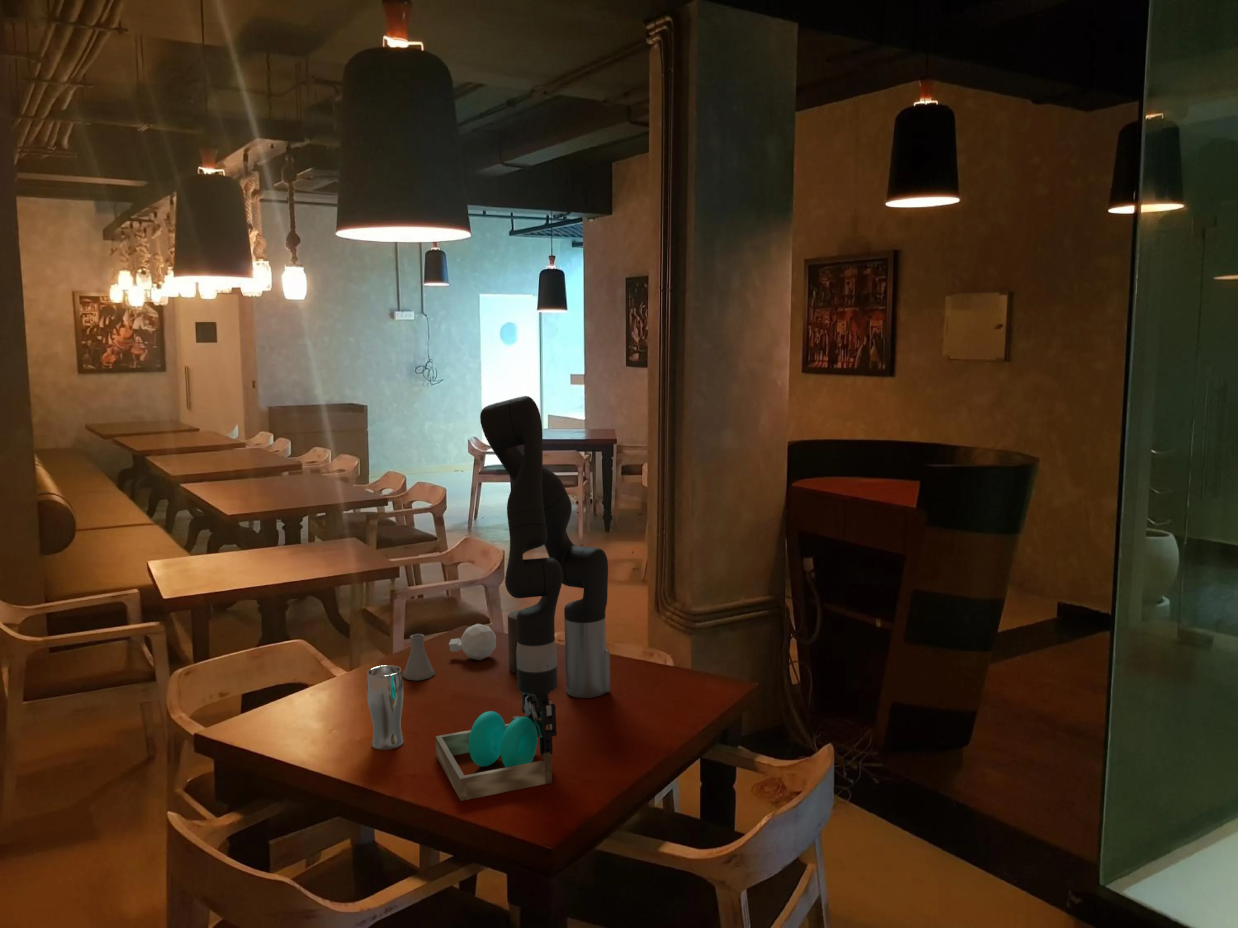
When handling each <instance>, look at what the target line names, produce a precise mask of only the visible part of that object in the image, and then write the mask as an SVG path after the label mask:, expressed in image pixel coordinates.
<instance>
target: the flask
mask: <svg viewBox="0 0 1238 928" xmlns="http://www.w3.org/2000/svg"><path fill="white" fill-rule="evenodd" d="M424 638H425V635H424V634H422V633H415V634H412V635H409V639H410V640H411V646H410V653H409V656H408V659H407V662H406V666H405V668H404V670H403V672H402V678H404V679H406V680H407V681H408V680H409V681H418V682H419V681H424V680H427V679H431V678H432V677H434V676H435V675H436V672H435V671H434V670H435V669H434V668H433V666H432V664H431V662H430V659H429V657H428V654H427V652H426V648H425V645H424Z"/></svg>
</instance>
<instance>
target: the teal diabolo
mask: <svg viewBox="0 0 1238 928" xmlns="http://www.w3.org/2000/svg"><path fill="white" fill-rule="evenodd" d="M509 723H510V724H509ZM509 723H508V724H509V725H508V727H507V728H506V727H505V724H506V723H505V721H504V719H503V718H502V716H501V715H500V714H499V713H498V712H496V711H493V710H492V711H491V710H489V711H485V712H483V713H482V714H480V715H479V716H478V717H477V719H476V720H475V721H474V722H473V725H472V727H471V729H470V730H471V732H470V737H469V753H468V754H469V756H470V758H471V760H472V761H473V763H474V764H475V765H476V766H478V767H489V766H491V765H492V764H494V763H495V762H496V761H497V760H498V759H499V758H500V757H501V762H502V764H503V765H504V768H505V767H511V766H516V765H521V764H526V763H531V762H533V760H534V757H535V756H536V752H537V747H538V739H539V737H537V729H536V726H535V724H534V723H533V721H532V720H531V719H529V718H527V717H525V716H519V717H518V718H516V719H514V720H513V721H512V720H511V722H509Z"/></svg>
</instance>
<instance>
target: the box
mask: <svg viewBox="0 0 1238 928" xmlns="http://www.w3.org/2000/svg"><path fill="white" fill-rule="evenodd" d="M511 717H512V720H511V722H512V721H513V720H514V719H516V718H518V717H520V716H519V715H514V716H511ZM511 722H509V723H505V727H506V728H507V727H508V725H509V724H510V723H511ZM470 732H471V729H469V730H464V731H463V730H462V731H459V732H458V731H457V732H452V733H447V734H441V735H436V736H435V756H436V758H437V761H438V762H439V764H440V765H441V767H442V770H443V771H444V773H445V775H446V777H447V778H448V779H447V780H449V782H450V784H451V786H452V787H453V789H454V791H455V793H456V795H457V797H458V798H459V800H460V801H461V802H463V801H468V800H472V799H478V798H482V797H483V798H484V797H487V796H493V795H498V794H502V793H508V792H511V791H512V792H513V791H518V790H521V789H527V788H532V787H537V786H541V785H547V784H552V783H553V771H552V770H553V769H552V768H553V764H552V755H551V754H550V753H549V752H548V753H543V756H542V760H538V761H532V762H531V763H526V764H521V765H516V766H511V767H505V766H504V767H502V768H501V767H500V768H496V769H491V770H485V771H480V772H476V773H471V774H470V773H469V774H465V773H464V772H463V771H462V769H461V767H460V765H459V764H458V762H457V761H456V759H455V757H454V756H458V755H464V754H470V753H469V737H470Z"/></svg>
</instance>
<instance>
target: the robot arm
mask: <svg viewBox="0 0 1238 928" xmlns="http://www.w3.org/2000/svg"><path fill="white" fill-rule="evenodd" d="M479 419H480V421H479V422H480V425H481V430H482V433H483V435H484V437H485V439H486V441H487V442H488V445H489V446H490V448H491V450H492V451H493V453H494V454H495V456H496V457H497V459H498V460H499V461H500V463H501V465H502V466H503V468H504V469H505V471H506V473H507V474H508V476H509V477H510V480H511V482H512V483H513V484H512V487H511V489H510V492H509V495H508V499H507V504H506V516H507V524H508V533H509V554H508V561H507V566H506V567H507V568H506V571H505V578H504V581H505V582H504V584H505V588H506V591H507V592H508V593H509V595H510V596H511V597H512V598H514V599H527V598H536V597H540V599H539V601H538V602H537V603H536V604H534V605H531V606H527V607H525V608H523V609H520V610H521V611H519V613H518V614H517V651H516V659H517V674H516V681H517V682H516V683H517V689H518V691H520V692H521V713H523V714H524V717H527V718H529V719H531V720H532V721H533V723H534V724H535V726H536V729H537V737H538V738H539V754H540V755H541V757H543V753H548V752H549V753H550V754H551V756H552V755H553V753H554V752H553V737H556V736H557V717H556V716H557V714H556V705H555V703H552V700H551V698H550V696H549V694H550V693H551V692H553V691H555V690H556V689H557V687H558V685H559V684H558V661H557V659H558V658H557V657H558V656H557V655H558V654H557V645H556V638H555V637H556V633H555V632H556V631H555V616H556V615H555V614H556V609H557V604H558V600H559V596H560V592H561V589H562V584H563V585H564V586H567V587H571V588H579V589H583V594H582V598H581V599H577V600H572V601H571V602H568V603H567V604H565V606H564V609H563V610H564V613H563V615H564V617H563V619H564V650H565V651H564V654H565V686H566V687H565V690H566V694H567V695H568V696H570V697H572V698H573V697H574V698H580V699H591V698H597V697H600V696H603V695H604V694H607V693H610V692H611V668H610V667H611V666H610V665H611V664H610V650H608V649H607V633H606V628H607V627H606V626H607V625H606V611H607V610H606V608H607V605H608V591H609V590H608V587H609V585H608V584H609V583H608V582H609V562H608V557H607V555H606V552H605V551H604V550H603V549H602V548H599V547H592V546H590V547H589V546H581V545H576V544H574V543H573V542H572V540H571V539H570V537H569V535H568V533H567V528H568V525H569V522H570V520H571V515H572V510H573V507H572V505H573V504H572V501H571V498H570V496H569V493H568V492H567V489H566V487H565V486H564V483H563V482H562V480H561V479H560V478H559V476H558V475H556V474H555V472H553V471H551V470H550V469H549V468H547V467H546V466H544V465H543V464H544V463H543V461H544V458H543V455H544V454H543V453H544V452H543V451H544V449H543V448H544V447H543V446H544V445H543V442H544V441H543V440H544V439H543V438H544V437H543V422H542V416H541V412H540V410H539V407H538V405H537V403H536V401H534V399H533V398H532V397H530V396H529V395H528V396H527V395H524V396H518V397H514V398H510V399H508V400H502V401H499V402H494V403H492V404H488V405H486V406H484V407H483V408H482V409H481V411H480V415H479ZM519 446H523V452H522V451H521V449H520V448H519ZM543 546H544V548H545V550H546V553H547V555H548V557H540V558H528V559H524V554H525V553H526V552H529V551H532V550H535V549H538V548H541V547H543ZM547 728H548V729H547Z"/></svg>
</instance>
